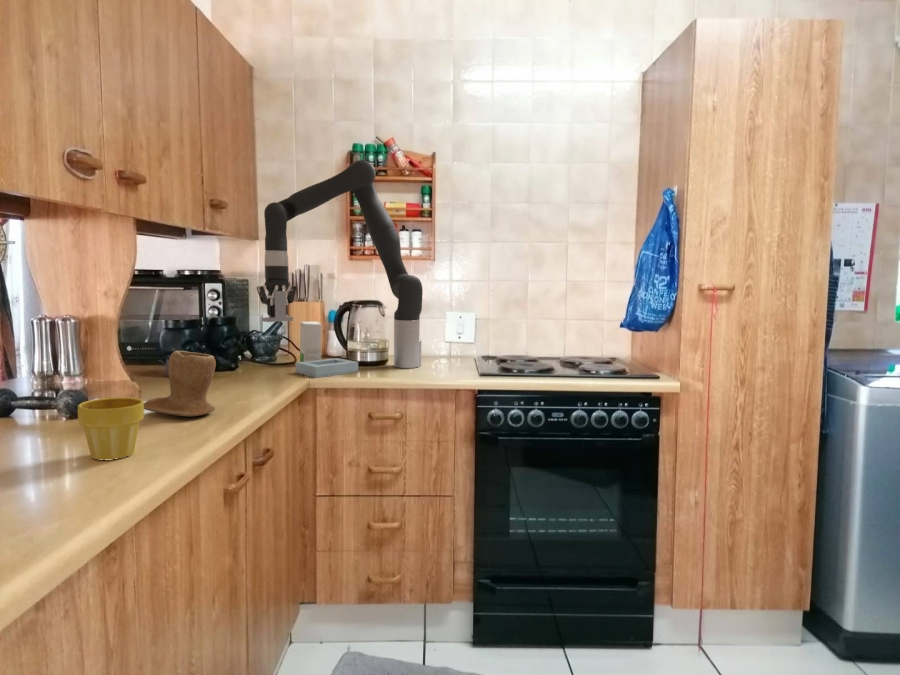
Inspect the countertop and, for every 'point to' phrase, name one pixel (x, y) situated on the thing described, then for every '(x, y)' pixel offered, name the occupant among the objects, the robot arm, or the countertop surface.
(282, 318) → the bracket
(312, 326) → the skincare box
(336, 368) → the well block
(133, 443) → the plant pot
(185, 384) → the brown hat-shaped piece
